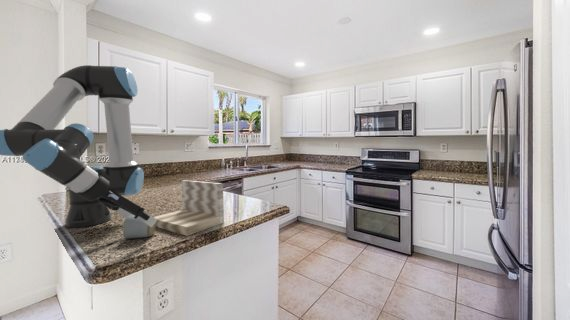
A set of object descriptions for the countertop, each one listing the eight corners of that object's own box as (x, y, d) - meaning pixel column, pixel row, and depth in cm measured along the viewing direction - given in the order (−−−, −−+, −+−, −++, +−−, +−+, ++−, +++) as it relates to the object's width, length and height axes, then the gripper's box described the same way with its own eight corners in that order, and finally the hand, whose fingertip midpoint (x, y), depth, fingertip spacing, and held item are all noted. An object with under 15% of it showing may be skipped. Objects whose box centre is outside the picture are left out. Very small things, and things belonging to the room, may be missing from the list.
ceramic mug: (150, 239, 81) (149, 217, 81) (123, 242, 80) (122, 218, 79) (160, 229, 91) (159, 209, 91) (136, 231, 90) (135, 211, 90)
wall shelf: (149, 225, 97) (147, 185, 96) (187, 214, 111) (185, 180, 110) (187, 235, 84) (185, 189, 83) (224, 222, 98) (222, 183, 97)
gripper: (62, 191, 76) (118, 224, 89) (95, 198, 63) (155, 236, 76) (82, 172, 80) (133, 207, 94) (117, 175, 67) (170, 216, 80)
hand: (143, 220), depth 85 cm, fingers open, 13 cm apart
